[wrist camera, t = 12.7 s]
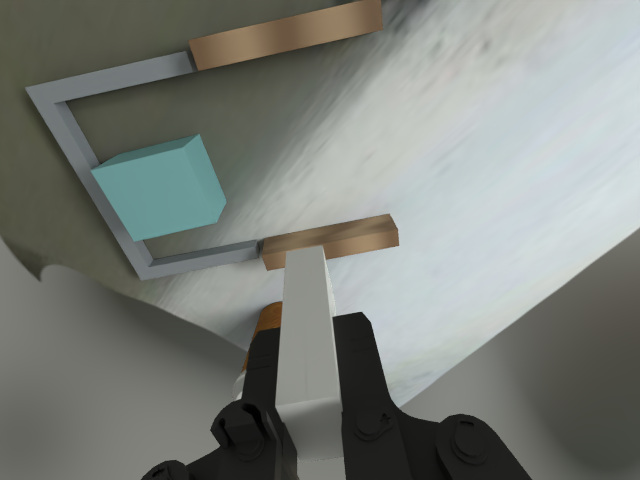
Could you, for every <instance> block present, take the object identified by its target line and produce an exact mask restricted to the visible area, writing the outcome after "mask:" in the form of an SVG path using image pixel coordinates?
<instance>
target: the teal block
mask: <svg viewBox="0 0 640 480" xmlns="http://www.w3.org/2000/svg"><path fill="white" fill-rule="evenodd" d="M90 171H91V173H92V174H93V176H94V177H95V179H96V181H97V182H98V184H99V186H100V187H101V189H102V190H103V192H104V194H105V195H106V197H107V199H108V200H109V202H110V203H111V205H112V207H113V208H114V210H115V211H116V213H117V215H118V216H119V218H120V220H121V221H122V223H123V224H124V226H125V228H126V229H127V231H128V233H129V234H130V236H131V237H132V239H133V241H134V242H135V241H140V240H144V239H148V238H153V237H157V236H161V235H166V234H170V233H174V232H179V231H183V230H187V229H192V228H196V227H200V226H205V225H209V224H213V223H217V220H218V218H219V216H220V214H221V212H222V210H223V208H224V206H225V204H226V202H227V201H226V198H225V196H224V194H223V191H222V189H221V186H220V184H219V181H218V179H217V177H216V174H215V172H214V169H213V167H212V164H211V162H210V160H209V157H208V155H207V152H206V150H205V147H204V145H203V142H202V140H201V138H200V135H199V134H197V135H193V136H189V137H185V138H181V139H177V140H173V141H169V142H165V143H161V144H157V145H153V146H149V147H145V148H141V149H137V150H133V151H129V152H125V153H121V154H118V155H116V156H115V157H113V158H111V159H109V160H108V161H106V162H104V163H102V164H101V165H99V166H97V167H96V168H94V169H92V170H90Z"/></svg>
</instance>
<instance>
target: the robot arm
mask: <svg viewBox="0 0 640 480" xmlns="http://www.w3.org/2000/svg"><path fill="white" fill-rule="evenodd" d="M210 431H211V432H212V434H213V435H214V437H215V438H216V440H217V441H218V443H219V444H220V447H219V448H217V449H216V450H214V451H213V452H211V453H210V454H207V455H205V456H204V457H202V458H200V459H198V460H196V461H194V462H192V463H190V464H188V465H186V466H185V465H184V464H183V463H181V462H179V461H177V460H170V461H164V462H162V463H160V464H158V465H157V466H155V467H153V468H152V469H151V470H150V471H149V472H148V473H147V474H146V475H144V476H143V478H142V479H141V480H299V477H298V476H297V456H298V458H299V460H300V462H301V463H305V462H312V461H318V460H325V459H332V458H338V457H344V464H345V474H346V480H532V479H531V478H530V476H529V475H528V474H527V473H526V471H525V470H524V469H523V467H522V466H521V465H520V464H519V462H518V461H517V459H516V458H515V457H514V456H513V454H512V453H511V452H510V451H509V449H508V448H507V446H506V445H505V444H504V443H503V441H502V440H501V439H500V437H499V436H498V435H497V434H496V432H494V431H493V430H492V428H490V427H489V426H488V425H487V424H486V423H485V422H484V421H482V420H480V419H478V418H476V417H474V416H470V415H464V414H457V415H452V416H449V417H447V418H446V419H444V420H443V421H442V422H440V423H438V422H432V421H427V420H422V419H418V418H414V417H411V416H409V415H407V414H406V413H404V412H402V411H401V410H400V409H399V408H398V407H397V406H396V405H395V404H394V402H393V401H392V399H391V397H390V395H389V392H388V388H387V384H386V380H385V376H384V372H383V369H382V365H381V361H380V357H379V353H378V349H377V345H376V341H375V337H374V333H373V329H372V325H371V322H370V321H369V320H368V318H367V317H366V316H365V315H364V314H363V313H362V312H357V313H352V314H346V315H340V316H336V310H335V302H334V295H333V290H332V286H331V281H330V277H329V272H328V268H327V263H326V259H325V254H324V250H323V245H320V246H315V247H310V248H305V249H299V250H294V251H289V252H286V263H285V277H284V291H283V305H282V318H281V327H278V328H272V329H266V330H261V331H258V332H257V334H256V336H255V337H254V339H253V341H252V342H251V344H250V349H249V355H248V361H247V367H246V373H245V379H244V385H243V390H242V396H241V399H239V400H236V401H233V402H231V403H230V404H229V405H227V406H226V407H225V408H223V409H222V410H221V412H220V413H219V414H218V415H217V417H216V418H215V420H214V422H213V425H212V427H211V429H210Z"/></svg>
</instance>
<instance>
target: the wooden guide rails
mask: <svg viewBox="0 0 640 480" xmlns="http://www.w3.org/2000/svg"><path fill="white" fill-rule="evenodd" d="M380 30H383V24H382V11H381V0H362V1H357V2H353V3H348V4H344V5H340V6H335V7H331V8H327V9H322V10H318V11H313V12H309V13H305V14H300V15H296V16H292V17H287V18H283V19H278V20H274V21H270V22H265V23H261V24H257V25H252V26H248V27H243V28H239V29H235V30H230V31H226V32H222V33H217V34H213V35H208V36H204V37H200V38H195V39H191V40H188V42H189V45H190V48H191V50H192V53H193V56H194V59H195V62H196V65H197V68H198V71H201V70H205V69H210V68H214V67H219V66H223V65H228V64H232V63H237V62H241V61H246V60H250V59H255V58H259V57H263V56H268V55H272V54H277V53H281V52H286V51H290V50H295V49H299V48H304V47H308V46H313V45H317V44H322V43H326V42H331V41H335V40H340V39H344V38H349V37H353V36H358V35H362V34H366V33H371V32H375V31H380ZM320 245H323V250H324V254H325V259H326V260H327V259H332V258H337V257H343V256H348V255H353V254H358V253H364V252H369V251H374V250H380V249H385V248H390V247H395V246H399V237H398V228H397V227H396V225H395V223H394V221H393V219H392V217H391V216H390V214H386V215H381V216H376V217H370V218H365V219H360V220H355V221H350V222H345V223H340V224H334V225H329V226H324V227H319V228H314V229H309V230H304V231H298V232H293V233H288V234H283V235H278V236H273V237H268V238H265V240H264V246H263V251H262V258H263V260H264V263H265V266H266V269H267V271H269V270H274V269H279V268H285V263H286V252H289V251H294V250H299V249H305V248H310V247H315V246H320Z"/></svg>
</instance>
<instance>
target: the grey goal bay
mask: <svg viewBox="0 0 640 480" xmlns="http://www.w3.org/2000/svg"><path fill="white" fill-rule="evenodd" d="M196 71H198V69H197V66H196V63H195V60H194V57H193V54H192V51H184V52H179V53H175V54H170V55H166V56H161V57H157V58H153V59H148V60H144V61H139V62H135V63H131V64H126V65H122V66H117V67H113V68H109V69H104V70H100V71H95V72H91V73H87V74H82V75H78V76H73V77H69V78H65V79H60V80H56V81H51V82H47V83H43V84H38V85H34V86H29V87H25V89H26V91H27V93H28V94H29V96H30V97H31V99H32V101H33V102H34V104H35V106H36V107H37V109H38V111H39V112H40V114H41V116H42V117H43V119H44V121H45V122H46V124H47V126H48V127H49V129H50V130H51V132H52V134H53V135H54V137H55V139H56V140H57V142H58V144H59V145H60V147H61V149H62V150H63V152H64V154H65V155H66V157H67V159H68V160H69V162H70V163H71V165H72V167H73V168H74V170H75V172H76V173H77V175H78V177H79V178H80V180H81V182H82V183H83V185H84V187H85V188H86V190H87V192H88V193H89V195H90V196H91V198H92V200H93V201H94V203H95V205H96V206H97V208H98V210H99V211H100V213H101V215H102V216H103V218H104V220H105V221H106V223H107V225H108V226H109V228H110V229H111V231H112V233H113V234H114V236H115V238H116V239H117V241H118V243H119V244H120V246H121V248H122V249H123V251H124V253H125V254H126V256H127V258H128V259H129V261H130V262H131V264H132V266H133V267H134V269H135V271H136V272H137V274H138V276H139V277H140V279H141V281H142V280H147V279H152V278H158V277H163V276H168V275H173V274H178V273H184V272H189V271H194V270H199V269H204V268H210V267H215V266H220V265H225V264H231V263H236V262H241V261H246V260H251V259H257V258H259V253H260V249H259V246H258V244H257V241H256V240H252V241H247V242H242V243H237V244H232V245H227V246H221V247H216V248H211V249H206V250H201V251H196V252H191V253H185V254H180V255H175V256H170V257H165V258H160V259H155V260H153V258H152V256H151V254H150V253H149V251H148V249H147V247H146V246H145V244H144V242H143V240H140V241H135V242H134V241H133V239H132V237H131V236H130V234H129V233H128V231H127V229H126V228H125V226H124V224H123V223H122V221H121V220H120V218H119V216H118V215H117V213H116V211H115V210H114V208H113V207H112V205H111V203H110V202H109V200H108V199H107V197H106V195H105V194H104V192H103V190H102V189H101V187H100V186H99V184H98V182H97V181H96V179H95V177H94V176H93V174H92V173H91V171H90V170H92V169H94V168H96V167H97V166H99V165H100V163H99V161H98V159H97V158H96V156H95V154H94V152H93V151H92V149H91V147H90V145H89V143H88V142H87V140H86V138H85V136H84V134H83V133H82V131H81V129H80V127H79V125H78V124H77V122H76V120H75V118H74V116H73V115H72V113H71V111H70V109H69V107H68V106H67V104H66V102H65V101H66V100H71V99H75V98H80V97H84V96H89V95H93V94H98V93H102V92H107V91H111V90H116V89H120V88H125V87H129V86H134V85H138V84H143V83H147V82H152V81H156V80H160V79H165V78H169V77H174V76H178V75H183V74H187V73H192V72H196Z"/></svg>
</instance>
